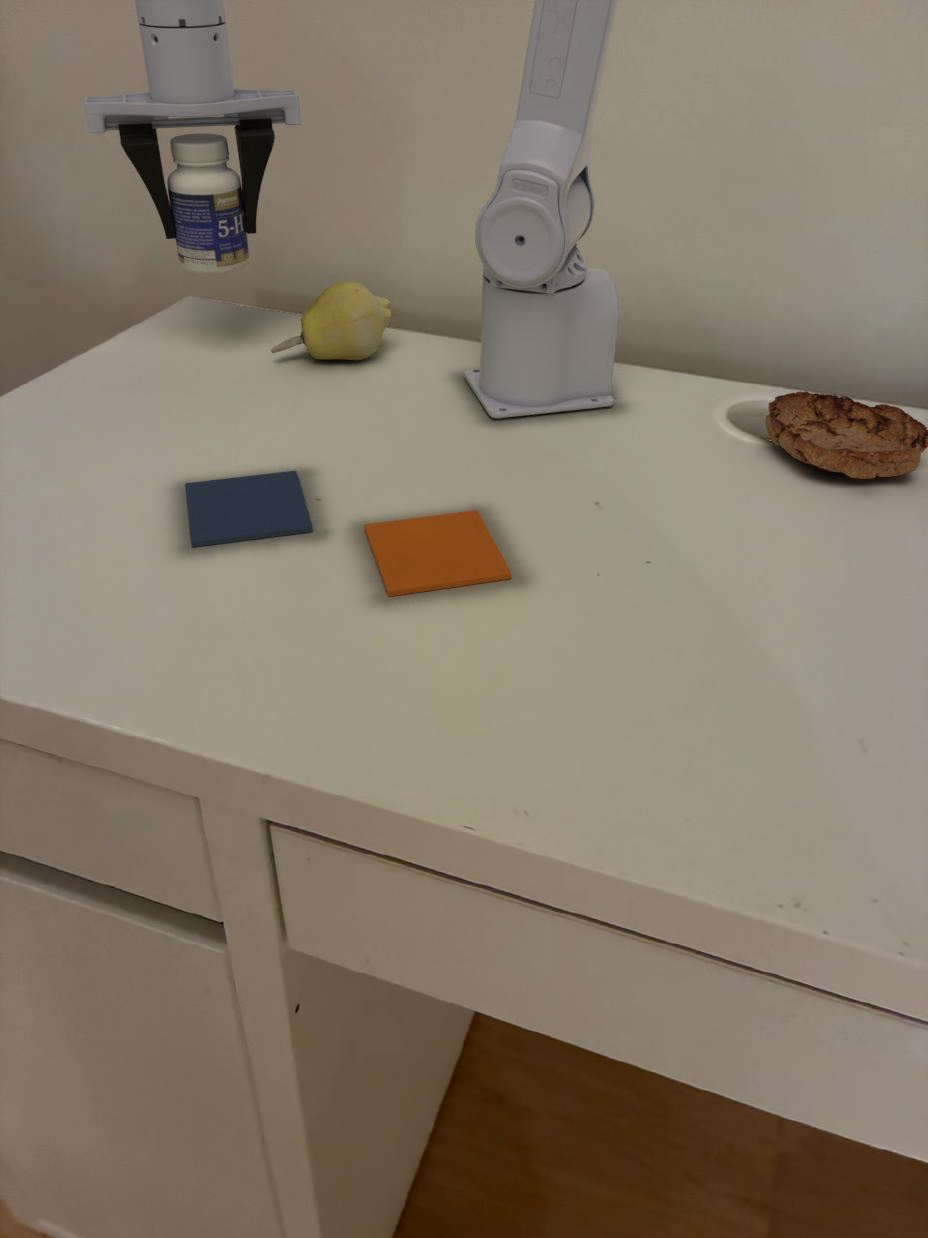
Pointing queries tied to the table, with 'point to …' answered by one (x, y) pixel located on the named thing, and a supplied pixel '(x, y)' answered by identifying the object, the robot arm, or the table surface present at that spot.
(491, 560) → the amber mat
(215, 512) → the blue mat
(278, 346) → the fruit
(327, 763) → the table surface
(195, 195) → the pill bottle
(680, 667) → the table surface
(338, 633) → the table surface
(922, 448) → the cookie
